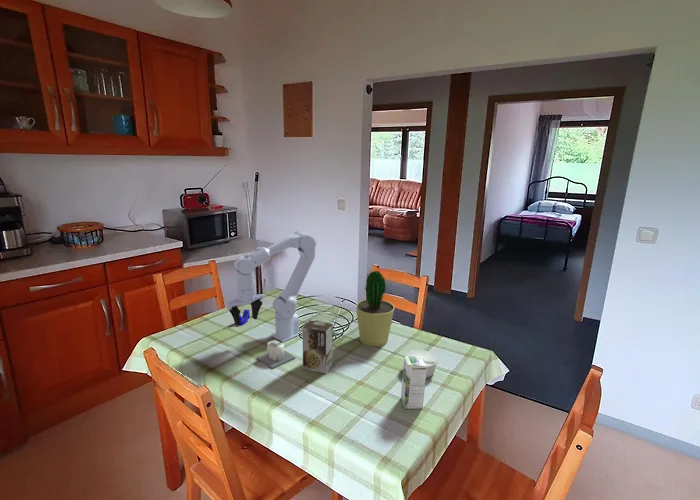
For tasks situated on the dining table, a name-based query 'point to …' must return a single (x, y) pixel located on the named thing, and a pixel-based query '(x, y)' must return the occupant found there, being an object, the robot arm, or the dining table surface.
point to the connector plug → (275, 350)
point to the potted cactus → (374, 312)
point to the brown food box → (317, 346)
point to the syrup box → (413, 382)
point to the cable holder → (244, 317)
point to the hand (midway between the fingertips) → (246, 321)
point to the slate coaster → (274, 363)
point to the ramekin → (428, 358)
